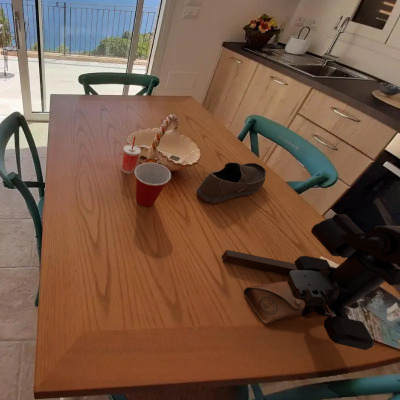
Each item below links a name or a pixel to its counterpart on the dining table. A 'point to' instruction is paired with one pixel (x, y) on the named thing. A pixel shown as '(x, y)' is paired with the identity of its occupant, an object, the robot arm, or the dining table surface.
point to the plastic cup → (150, 182)
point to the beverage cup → (130, 158)
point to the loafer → (232, 182)
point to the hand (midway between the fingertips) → (304, 316)
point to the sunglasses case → (273, 302)
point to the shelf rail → (258, 262)
